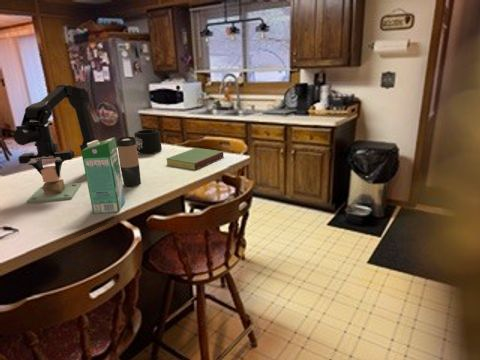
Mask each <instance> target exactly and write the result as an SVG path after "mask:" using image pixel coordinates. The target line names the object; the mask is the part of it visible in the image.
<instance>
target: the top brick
mask: <svg viewBox="0 0 480 360" xmlns="http://www.w3.org/2000/svg"><path fill="white" fill-rule="evenodd" d="M41 173H42V175H41V177H42V182H43V183H46V182H52V181H58V180H60V179H61V178H62V175H60V176H59V177H58V175H57V172H56V167H55V165H47V166H43V169H42V170H41Z"/></svg>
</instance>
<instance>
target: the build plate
mask: <svg viewBox="0 0 480 360" xmlns="http://www.w3.org/2000/svg"><path fill="white" fill-rule="evenodd" d="M81 185H82V183H80V182H79V183H77V182H75V183H68V184H64V186H65V189H64V190H63V192H62V193H60V194H50V195H45V194H44V190H43V186H40V187H39V188H38V189H37V190H36V191H35V192H34V193H33V194H32V195H31V196H29V197H28V199H27V200H26V204H27V205H28V204H37V203H46V202H57V201H66V200H73V198H74V197H75V195H76V193H77V192H78V190H79V188H81Z"/></svg>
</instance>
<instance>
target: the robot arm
mask: <svg viewBox="0 0 480 360" xmlns="http://www.w3.org/2000/svg"><path fill="white" fill-rule="evenodd" d="M89 95H90V94H89V92H88V90H86V88H84V87H83V88H80V87H76V86H72V85H69V84H66V83H65V84H58V85H56V86H55V88H54V89H52V90H51V92H49V93H48V95H46V96H45V97H44V98H43V99H41V100H40V101H38V102H35V103H32V104H29V105H28V106H27V107H26V108H25V109H24V114H23V118H22V120H21V123H20V125H16V126H15V130H14V132H13V135H12V137H13V141H14V142H15V143H16V144H17V145H19V146H26V145H29V144H32V143H34V147H36V150H37V153H36V154H35V153H34V152H26V153H25V152H24V153H22V154H21V155H19V156H18V163H19V165H22V164H28V165H29V166H32V167H33V168H34V169H36V171H37V172H38V173H39V174H40V175H41V176H42V173H41V170H42V169H43V168H44V166H43V160H48V159H49V160H51V159H55V161H54V166H55V167H56V172H57V175H58V177H59V176H61V171H62V165H63V163H64V162H65V161H70V160H73V158H74V157H75V151H74V150H72V149H65V150H63V149H62V150H61V151H60V152H59V144H57V143H55V142H54V140H53V139H52V133H51V131H50V126H53V125H54V123H52V121H51V122H50V121H49V119H50V118H51V116H52V115H53V109H55V108H56V107H57V106H58V105H59V104H60V103H61V102H62V101H64V99H67V100H68V102H69V105H71V107H72V108H73V109H74V110H75V113H76V114H75V115H76V118H77V120H78V121H77V122H78V125H79V130H80V133H81V137H82V142H81V144H80V146H79V149H80V152H81V151H82V150H83V149H85V148H86V147H88V146H87V143H89V142H92V141H95V140H97V139H96V138H95V134H94V131H93V126H92V122H91V117H90V113H89V109H88V106H89V104H90V96H89Z"/></svg>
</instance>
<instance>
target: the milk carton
mask: <svg viewBox="0 0 480 360" xmlns="http://www.w3.org/2000/svg"><path fill="white" fill-rule="evenodd" d="M87 146H88V147H86V148H85V149H83V150H82V151H81V150H80V153H81V156H82V163H83V167H84V172H85V173H84V174H85V178H86V184H87V188H88V194H89V199H90V204H91V209H92V214H106V213H107V214H108V213H120V212H121V209H122V208H123V206H124V204H125V203H126V199H125V192H124V188H123V187H124V184H123V178H122V173H121V168H120V161H119V154H118V147H117V140H116V137H115V136H114V137H111V138H108V139H105V140H104V139H103V140H102V141H100V140H99V139H96V140H95V141H92V142H89V143H87Z"/></svg>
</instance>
